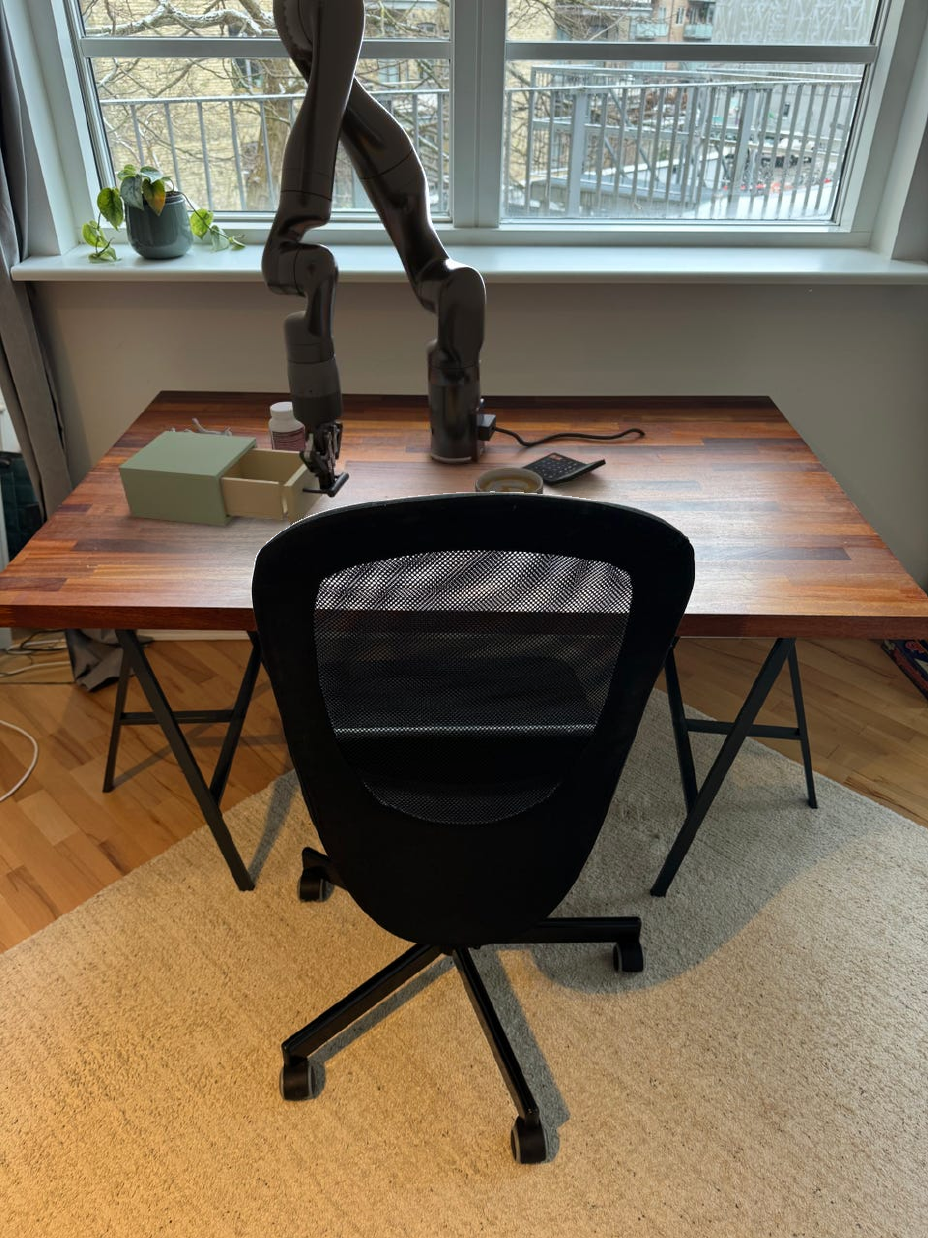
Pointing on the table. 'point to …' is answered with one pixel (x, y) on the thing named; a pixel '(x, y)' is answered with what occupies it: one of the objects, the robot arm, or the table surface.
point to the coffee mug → (509, 481)
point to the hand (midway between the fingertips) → (328, 491)
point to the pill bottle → (285, 428)
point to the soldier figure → (227, 432)
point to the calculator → (561, 468)
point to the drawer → (273, 486)
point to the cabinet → (182, 476)
